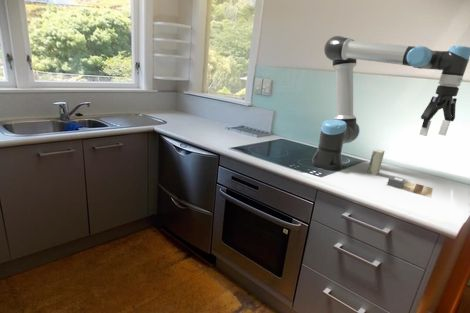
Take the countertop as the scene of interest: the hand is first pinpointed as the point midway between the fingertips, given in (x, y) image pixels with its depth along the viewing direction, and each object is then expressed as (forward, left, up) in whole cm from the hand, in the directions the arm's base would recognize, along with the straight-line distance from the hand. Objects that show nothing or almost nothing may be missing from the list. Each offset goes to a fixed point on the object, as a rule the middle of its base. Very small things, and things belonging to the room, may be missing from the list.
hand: (432, 135), depth 127 cm
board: (-3, -9, -24) cm, 26 cm away
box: (-19, -3, -24) cm, 31 cm away
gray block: (-8, -13, -23) cm, 27 cm away
